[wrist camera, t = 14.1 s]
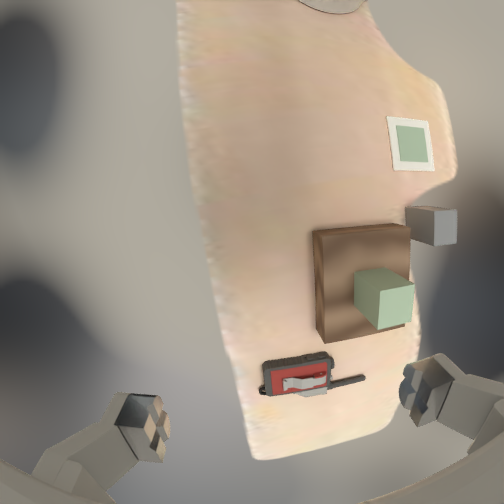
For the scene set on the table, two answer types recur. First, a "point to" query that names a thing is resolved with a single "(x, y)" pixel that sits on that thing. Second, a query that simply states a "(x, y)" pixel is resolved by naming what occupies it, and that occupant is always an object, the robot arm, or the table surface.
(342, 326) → the walnut plinth
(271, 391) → the walkie-talkie
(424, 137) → the swatch
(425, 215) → the grey block
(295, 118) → the table surface
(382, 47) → the table surface
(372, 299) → the sage block
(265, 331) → the table surface
